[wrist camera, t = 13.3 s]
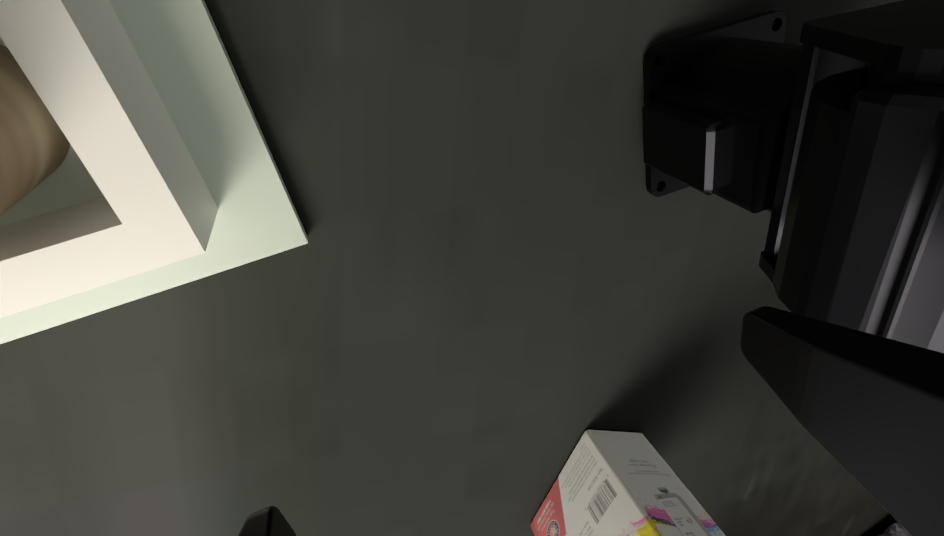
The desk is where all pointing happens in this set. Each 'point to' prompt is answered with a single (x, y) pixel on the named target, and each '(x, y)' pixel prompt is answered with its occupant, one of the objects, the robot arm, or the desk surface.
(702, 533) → the ink cartridge box
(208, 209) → the socket
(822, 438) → the robot arm
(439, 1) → the desk surface
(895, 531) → the geode
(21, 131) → the peg
